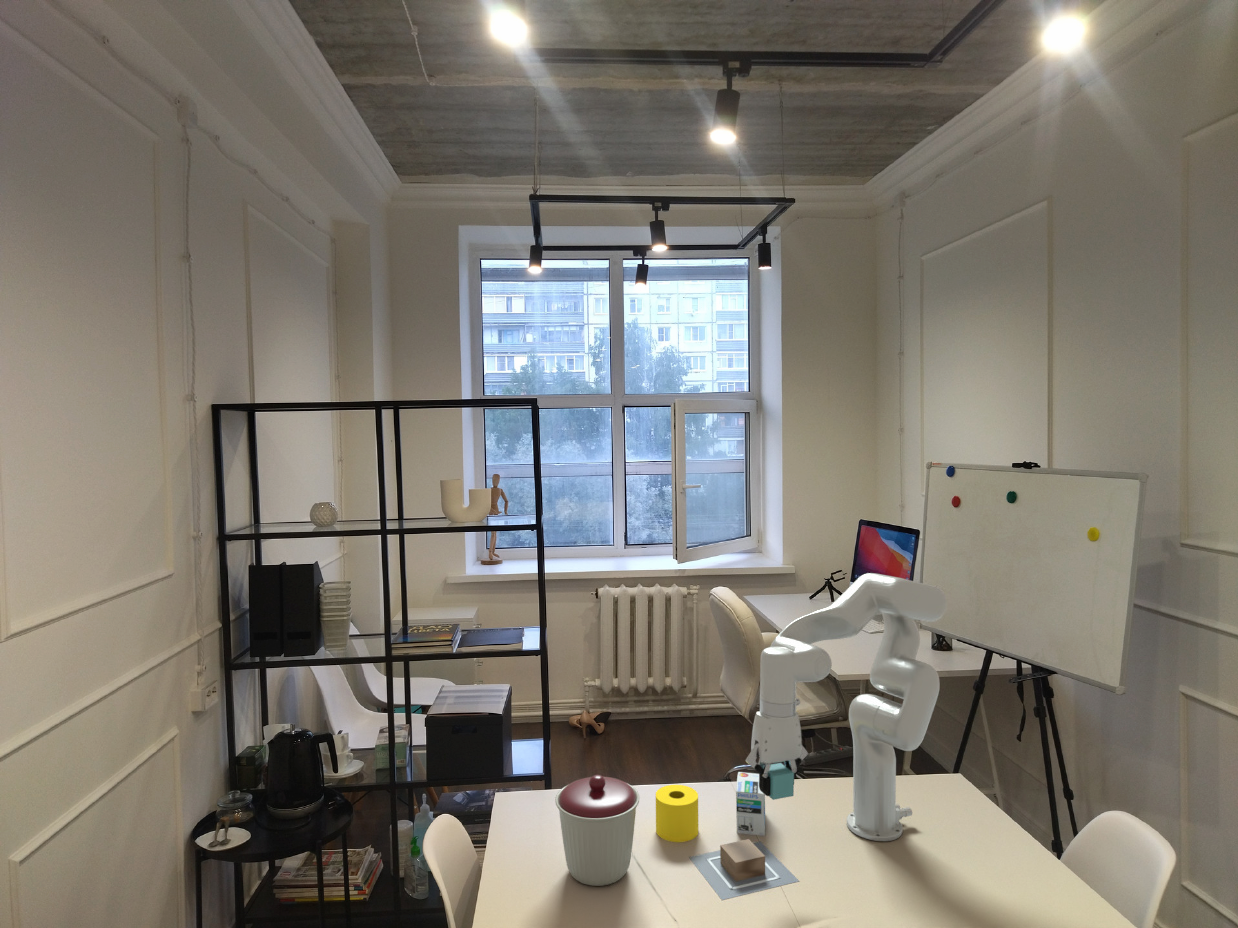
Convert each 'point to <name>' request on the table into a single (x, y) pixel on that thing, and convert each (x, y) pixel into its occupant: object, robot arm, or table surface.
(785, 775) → the teal block
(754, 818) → the light bulb box
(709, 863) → the grey mat
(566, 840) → the canister
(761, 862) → the walnut block
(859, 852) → the table surface
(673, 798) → the yellow hollow cylinder
